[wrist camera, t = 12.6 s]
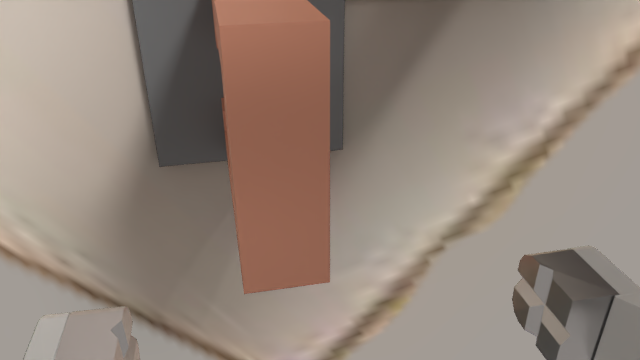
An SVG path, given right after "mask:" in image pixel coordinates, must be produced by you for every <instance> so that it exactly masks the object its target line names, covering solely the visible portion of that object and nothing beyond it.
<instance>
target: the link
mask: <svg viewBox="0 0 640 360" xmlns="http://www.w3.org/2000/svg"><path fill="white" fill-rule="evenodd" d="M212 9H213V19H214V29H215V39H216V46H217V49H218V51H219V57H220V63H221V73H222V83H223V94H224V98H221V101H222V111H223V121H224V132H225V142H226V152H227V160H228V168H229V176H230V184H231V192H232V200H233V208H234V216H235V224H236V232H237V240H238V248H239V256H240V264H241V272H242V280H243V288H244V294H247V293H255V292H262V291H269V290H276V289H284V288H291V287H298V286H305V285H313V284H320V283H327V282H330V20H329V19H328V18H327V17H326V16H324V15H323V14H322V13H321V12H320V11H319V10H318V9H317V8H315V7H314V6H313V5H312V4H311V3H310V2H309V1H307V0H212Z"/></svg>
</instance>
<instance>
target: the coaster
mask: <svg viewBox="0 0 640 360" xmlns="http://www.w3.org/2000/svg"><path fill="white" fill-rule="evenodd" d="M307 1H309V2H310V3H311V4H312V5H313V6H314V7H315V8H317V9H318V10H319V11H320V12H321V13H322V14H323V15H324V16H326V17H327V18H328V19H329V20H330V151H334V150H343V82H344V10H345V0H307ZM132 2H133V8H134V14H135V20H136V26H137V32H138V38H139V45H140V51H141V57H142V63H143V69H144V75H145V81H146V87H147V93H148V99H149V106H150V112H151V118H152V124H153V130H154V136H155V142H156V148H157V154H158V160H159V167H162V166H173V165H184V164H194V163H205V162H216V161H227V152H226V142H225V132H224V121H223V111H222V101H221V98H224V94H223V83H222V73H221V63H220V57H219V51H218V49H217V46H216V39H215V29H214V19H213V9H212V0H132Z"/></svg>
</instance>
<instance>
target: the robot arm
mask: <svg viewBox="0 0 640 360" xmlns="http://www.w3.org/2000/svg"><path fill="white" fill-rule="evenodd" d="M518 271H519V273H520V275H521V276H522V279H521V280H520V281H519V282H518V283H517V285H516V286H515V287H514V292H513V298H512V301H513V307H514V312H515V315H516V317H517V319H518V321H519V323H520V324H521V326H522V327H523V329H524V330H526V331H527V332H530V333H531V334H533V335H535V336H537V339H536V346H537V348H538V349H539V350H540V352H541V353H542V354H543V356H544V357H545V358H546V360H640V287H639V286H637V285H636V284H635V283H634V282H633V281H632V280H631V279H630V278H629V277H627V276H626V275H625V274H624V273H623V272H622V271H621V270H620V269H619V268H617V267H616V266H615V265H614V264H613V263H612V262H611V261H610V260H609V259H608V258H606V257H605V256H604V255H603V254H602V253H601V252H600V251H598V249H596V248H594V247H592V246H589V245H588V246H581V247H575V248H568V249H566V250H557V251H550V252H543V253H536V254H528V255H524V256H523V257H522V259H521V260H520V263H519V268H518ZM132 323H133V321H132V318H131V314H130V310H129V308H128V307H127V306H122V307H113V308H103V309H94V310H85V311H76V312H72V313H62V314H53V315H44V316H43V317H42V318H41V319H40V320H39V321H38V323H37V325H36V328H35V330H34V333H33V335H32V338H31V340H30V343H29V345H28V348H27V350H26V353H25V355H24V358H23V360H140V355H139V348H138V343H137V339H135V338H134V337H133V336H131V329H132Z"/></svg>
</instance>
